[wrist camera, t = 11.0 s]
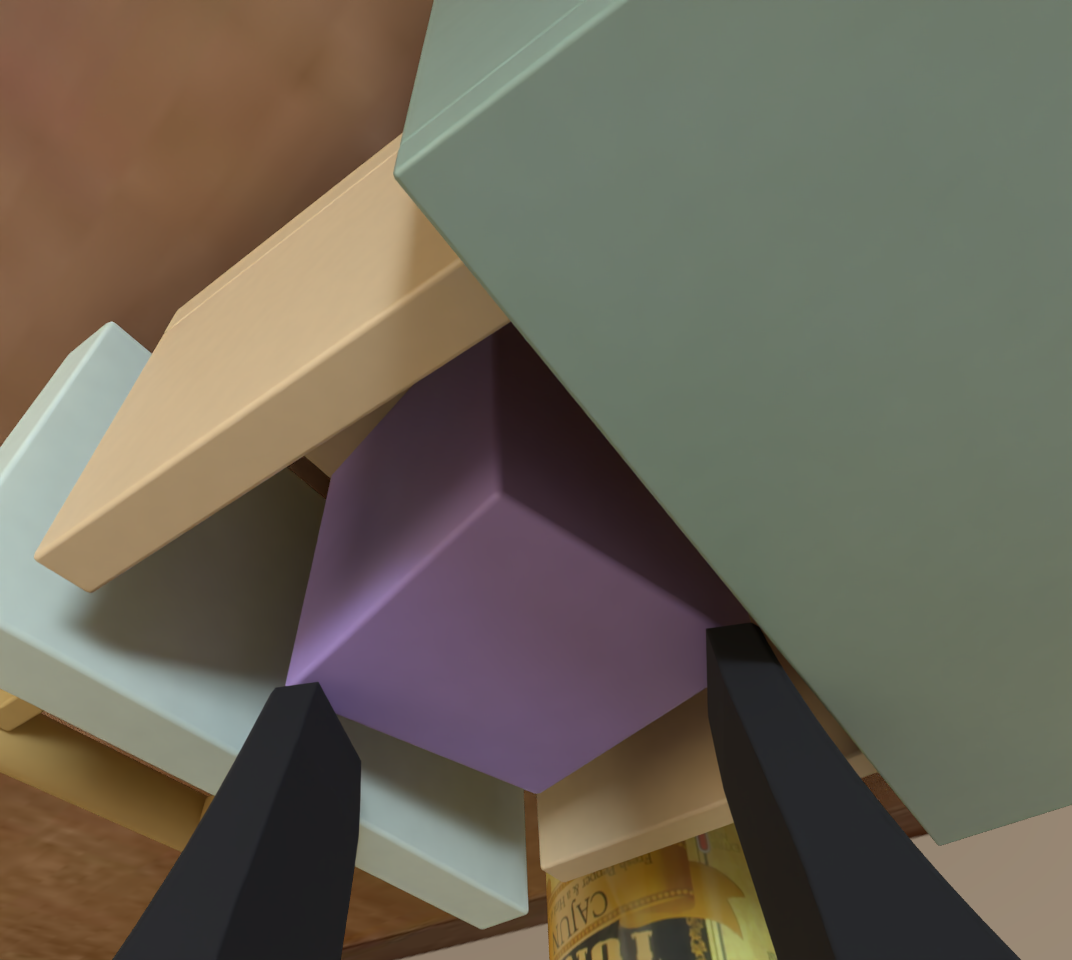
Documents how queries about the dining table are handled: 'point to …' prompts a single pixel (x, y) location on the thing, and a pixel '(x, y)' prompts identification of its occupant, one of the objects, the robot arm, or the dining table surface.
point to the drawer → (277, 565)
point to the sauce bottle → (663, 906)
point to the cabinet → (808, 328)
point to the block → (502, 578)
